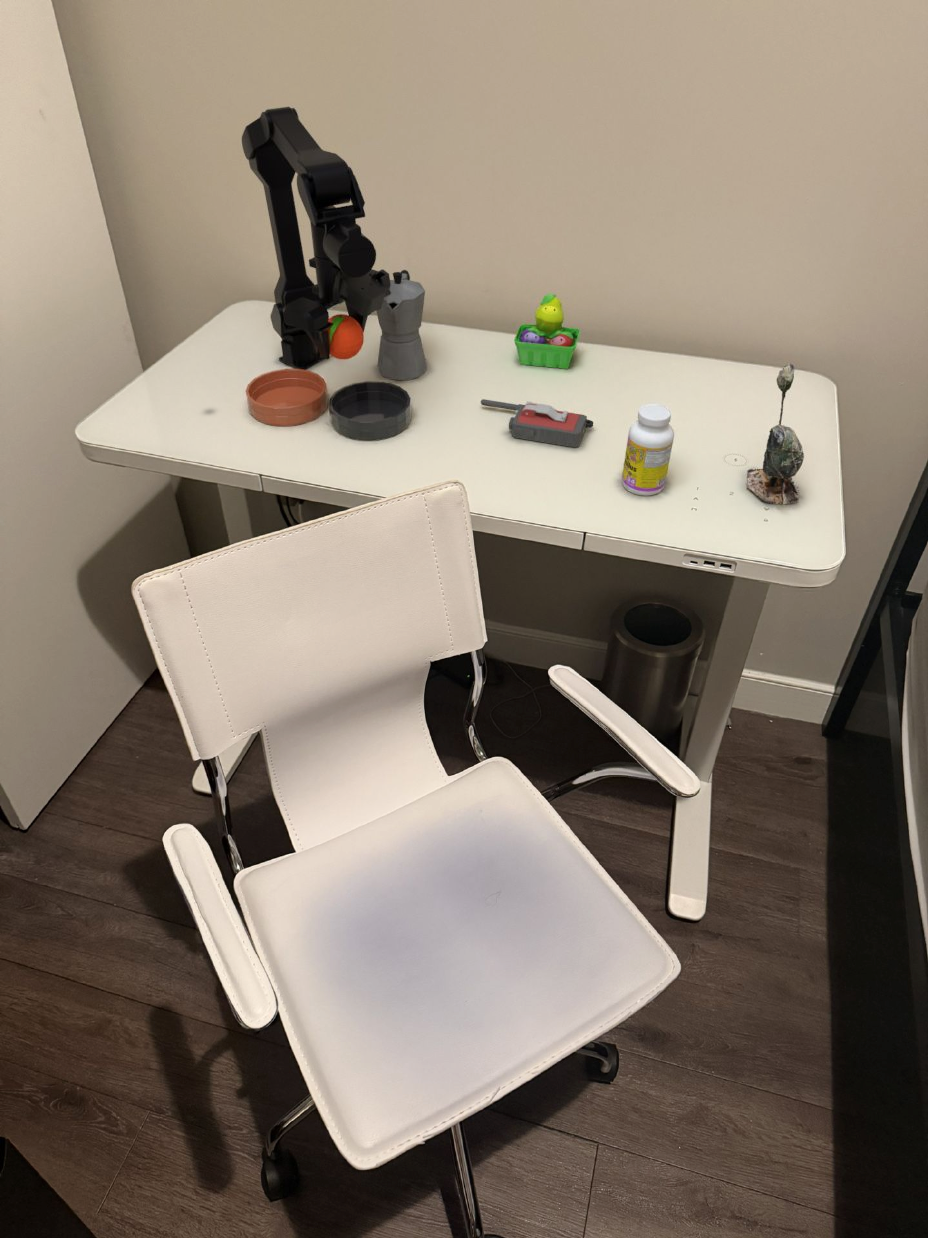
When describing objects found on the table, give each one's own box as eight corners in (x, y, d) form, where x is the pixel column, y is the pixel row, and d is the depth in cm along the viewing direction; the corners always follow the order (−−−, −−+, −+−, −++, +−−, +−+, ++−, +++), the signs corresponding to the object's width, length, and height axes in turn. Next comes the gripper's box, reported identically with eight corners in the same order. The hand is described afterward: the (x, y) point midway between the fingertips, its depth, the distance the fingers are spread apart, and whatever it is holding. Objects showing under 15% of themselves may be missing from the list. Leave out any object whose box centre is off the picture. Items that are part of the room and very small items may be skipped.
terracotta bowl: (288, 379, 162) (285, 361, 159) (344, 402, 156) (342, 383, 154) (232, 410, 154) (229, 392, 151) (289, 435, 148) (286, 416, 146)
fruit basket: (512, 367, 165) (514, 308, 157) (520, 345, 172) (523, 287, 164) (573, 373, 163) (578, 314, 156) (579, 351, 170) (584, 293, 162)
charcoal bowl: (366, 391, 159) (365, 373, 156) (427, 415, 153) (426, 396, 150) (314, 424, 151) (312, 405, 148) (376, 450, 145) (374, 431, 142)
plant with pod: (742, 509, 133) (773, 388, 119) (745, 468, 141) (776, 350, 127) (798, 518, 131) (837, 396, 118) (799, 476, 139) (835, 357, 125)
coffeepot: (422, 388, 160) (419, 289, 147) (370, 385, 160) (362, 286, 148) (433, 348, 171) (431, 253, 158) (385, 345, 171) (379, 251, 159)
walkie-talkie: (595, 423, 151) (482, 405, 155) (598, 400, 148) (482, 382, 152) (584, 451, 145) (467, 431, 149) (587, 427, 142) (467, 407, 146)
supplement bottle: (617, 473, 140) (627, 400, 131) (658, 471, 140) (671, 398, 131) (626, 498, 135) (637, 424, 126) (669, 496, 135) (683, 422, 127)
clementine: (353, 372, 142) (349, 330, 137) (313, 366, 143) (308, 324, 138) (371, 350, 147) (368, 308, 142) (332, 344, 149) (328, 303, 144)
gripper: (331, 286, 125) (341, 387, 135) (413, 244, 136) (417, 341, 146) (274, 267, 129) (288, 366, 140) (357, 228, 140) (365, 323, 151)
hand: (342, 349), depth 144 cm, fingers closed on clementine, 7 cm apart
